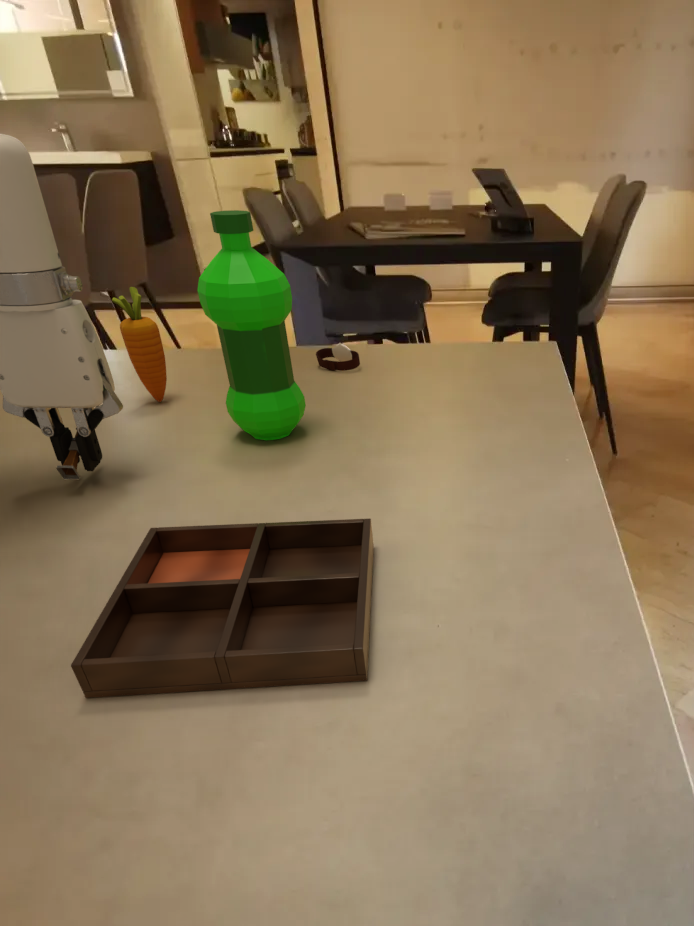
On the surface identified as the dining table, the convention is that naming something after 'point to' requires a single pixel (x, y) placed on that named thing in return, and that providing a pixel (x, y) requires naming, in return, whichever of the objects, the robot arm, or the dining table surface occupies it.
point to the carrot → (143, 346)
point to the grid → (235, 610)
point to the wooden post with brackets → (70, 462)
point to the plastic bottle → (251, 330)
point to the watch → (342, 354)
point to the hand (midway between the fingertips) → (82, 465)
